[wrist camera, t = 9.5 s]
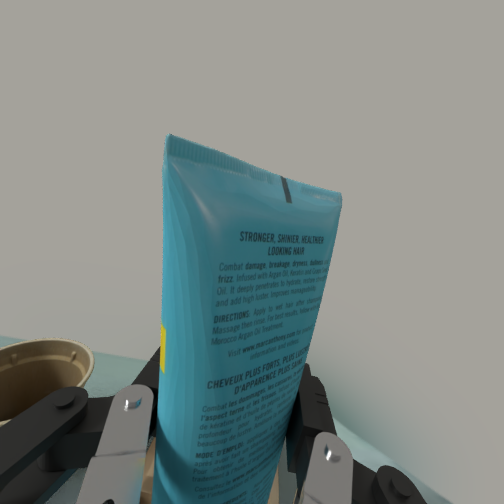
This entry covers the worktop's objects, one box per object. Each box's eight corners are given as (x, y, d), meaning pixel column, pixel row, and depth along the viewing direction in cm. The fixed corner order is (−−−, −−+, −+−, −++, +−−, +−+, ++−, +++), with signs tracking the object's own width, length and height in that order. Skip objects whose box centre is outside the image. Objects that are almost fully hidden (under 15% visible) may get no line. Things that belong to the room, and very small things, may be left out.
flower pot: (13, 400, 26) (10, 331, 24) (106, 406, 27) (112, 342, 25) (-99, 517, 17) (-120, 423, 15) (50, 515, 18) (50, 430, 16)
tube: (222, 471, 16) (292, 183, 12) (277, 551, 13) (402, 201, 9) (94, 588, 11) (132, 133, 6) (136, 772, 8) (272, 130, 3)
